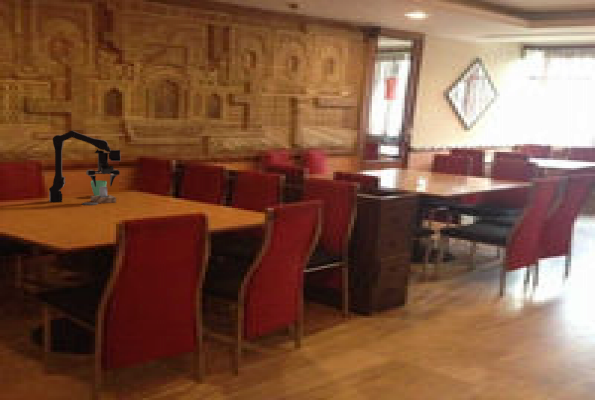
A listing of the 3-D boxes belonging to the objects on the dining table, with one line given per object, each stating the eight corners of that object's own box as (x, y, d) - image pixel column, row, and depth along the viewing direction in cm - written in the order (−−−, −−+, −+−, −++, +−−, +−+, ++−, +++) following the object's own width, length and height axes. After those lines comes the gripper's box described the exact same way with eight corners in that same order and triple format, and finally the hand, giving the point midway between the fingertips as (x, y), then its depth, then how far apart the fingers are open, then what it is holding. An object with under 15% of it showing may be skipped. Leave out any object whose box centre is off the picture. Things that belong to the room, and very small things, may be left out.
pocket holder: (95, 203, 375) (95, 198, 375) (90, 200, 385) (90, 195, 385) (116, 202, 381) (116, 197, 381) (110, 199, 391) (110, 195, 391)
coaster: (84, 205, 365) (84, 204, 365) (80, 203, 373) (80, 202, 373) (99, 204, 370) (99, 203, 370) (95, 202, 377) (95, 201, 377)
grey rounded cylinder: (100, 202, 380) (100, 187, 379) (98, 201, 384) (98, 186, 383) (108, 202, 383) (107, 187, 381) (106, 201, 386) (105, 186, 385)
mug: (106, 197, 400) (106, 182, 399) (89, 197, 398) (89, 182, 397) (108, 194, 414) (107, 179, 413) (92, 194, 412) (92, 179, 411)
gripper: (90, 162, 368) (90, 188, 370) (122, 161, 378) (122, 187, 380) (85, 160, 378) (86, 186, 380) (116, 160, 387) (116, 185, 390)
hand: (103, 186), depth 382 cm, fingers open, 9 cm apart
